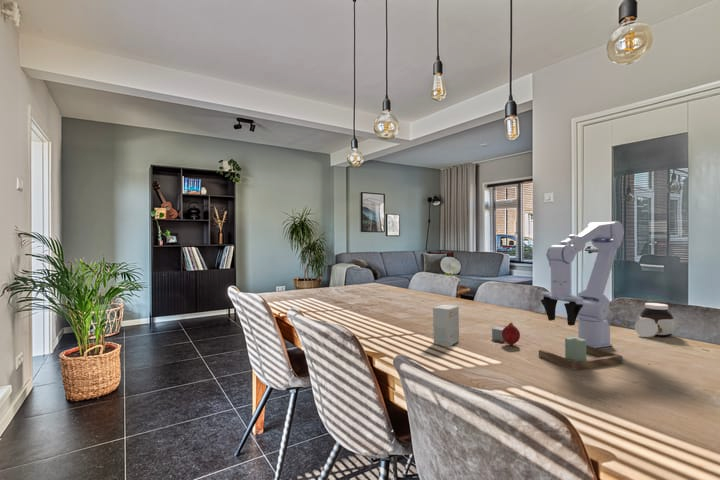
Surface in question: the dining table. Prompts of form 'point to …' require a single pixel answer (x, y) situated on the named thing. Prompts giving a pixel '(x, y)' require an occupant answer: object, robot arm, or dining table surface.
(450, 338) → the small box
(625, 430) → the dining table surface
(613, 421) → the dining table surface
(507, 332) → the red round fruit
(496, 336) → the light gray block
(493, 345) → the dining table surface
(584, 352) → the sage block
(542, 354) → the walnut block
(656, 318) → the spread jar
